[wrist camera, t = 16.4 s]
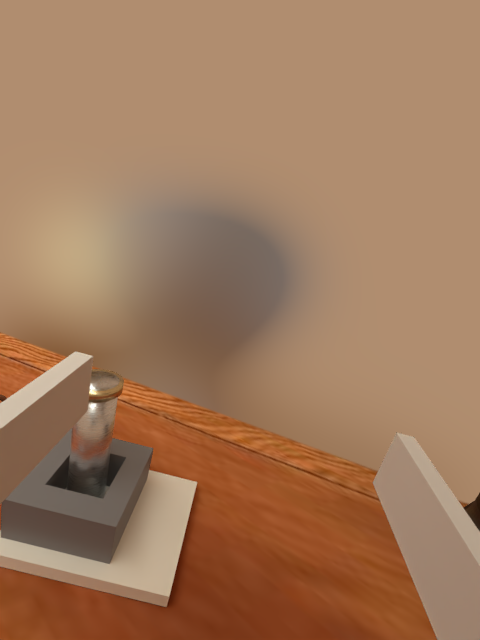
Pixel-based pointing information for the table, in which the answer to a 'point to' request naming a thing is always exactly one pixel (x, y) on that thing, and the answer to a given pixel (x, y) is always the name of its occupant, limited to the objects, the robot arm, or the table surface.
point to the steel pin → (94, 436)
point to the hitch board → (134, 550)
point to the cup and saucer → (2, 398)
